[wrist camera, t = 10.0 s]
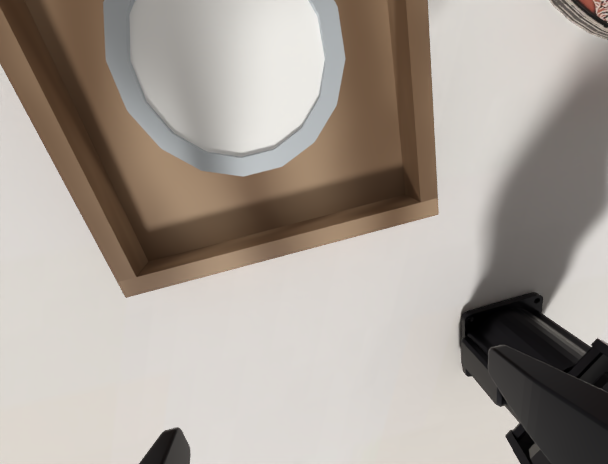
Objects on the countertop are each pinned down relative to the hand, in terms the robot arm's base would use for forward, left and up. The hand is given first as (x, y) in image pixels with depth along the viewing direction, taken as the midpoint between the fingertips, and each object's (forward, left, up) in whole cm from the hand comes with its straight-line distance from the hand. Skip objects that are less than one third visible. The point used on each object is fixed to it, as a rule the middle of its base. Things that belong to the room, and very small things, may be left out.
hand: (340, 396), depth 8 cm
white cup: (+1, -9, -11) cm, 15 cm away
